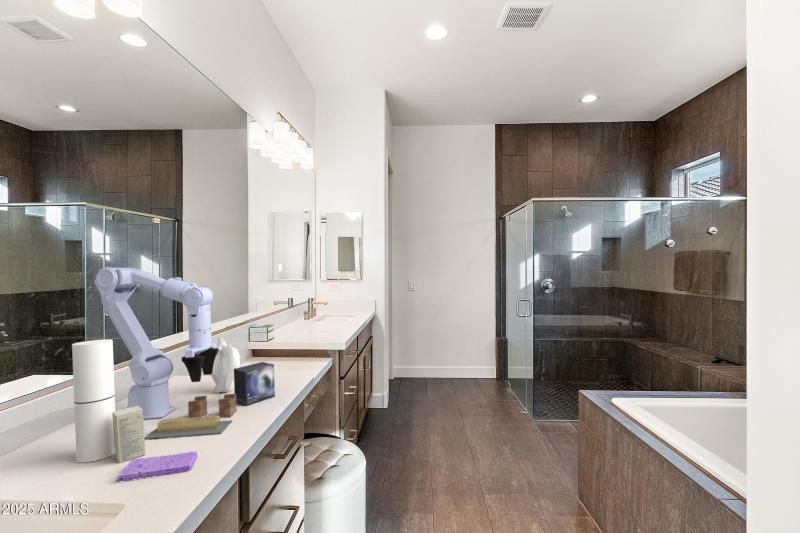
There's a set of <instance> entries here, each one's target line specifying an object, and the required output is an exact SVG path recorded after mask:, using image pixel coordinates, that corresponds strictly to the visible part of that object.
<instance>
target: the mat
mask: <svg viewBox="0 0 800 533" xmlns="http://www.w3.org/2000/svg"><path fill="white" fill-rule="evenodd" d="M232 422H233V420H220V425H219V426H218V427H217V428H216V429H206V430H193V431H180V432H167V433H158V427H157V428H156V429H154V430H153V431H151V432H150V433H149V434H147V435H146V436H144V438H145V441H146V439H150V440H156V439H155V438H162V439H168V438H167V437H175V438H183V437H182V436H188V437H201V436H211V435H212V436H213V435H221V434H222V433H224V431H225V430H226V429H227V428H228V427H229V426H230V425H231V424H232ZM229 424H230V425H229ZM228 425H229V426H228ZM227 426H228V427H227Z"/></svg>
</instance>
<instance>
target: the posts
mask: <svg viewBox="0 0 800 533" xmlns="http://www.w3.org/2000/svg"><path fill="white" fill-rule="evenodd" d="M187 405H188V406H187V407H188V408H187V409H188V418H191V417H203V416H204V415H205V416H207V414H208V395H200V396H197V395H196V396H194V400H188V401H187ZM237 410H238V409H237V403H236V394H235V393H227V394H223V398H219V399H218V415H220V419H222V418H221V417H229V418H232V417H233V416H234V415H235V414H236V413H237ZM234 413H235V414H234ZM233 414H234V415H233ZM232 415H233V416H232ZM231 416H232V417H231Z"/></svg>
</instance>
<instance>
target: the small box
mask: <svg viewBox="0 0 800 533" xmlns="http://www.w3.org/2000/svg"><path fill="white" fill-rule="evenodd" d="M233 389H234V391H233V392H234V393H233V394H236V404H237V403H238V404H237V405H240V404H241V406H244V407H247V406H251V405H254V404H257V403H260V402H263V401H265V400H269V399H272V398H275V397H276V387H275V364H274V363H270V362H269V363H268V362H265V361H264V362H263V361H261V362H256V363H252V364H249V365H245V366H239V368H235V369H234V381H233Z"/></svg>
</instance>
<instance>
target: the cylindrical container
mask: <svg viewBox="0 0 800 533" xmlns="http://www.w3.org/2000/svg"><path fill="white" fill-rule="evenodd" d="M113 341H114V340H113V339H109V338H108V339H105V338H103V339H93V340H86V341H80V342H75V343H72V344H71V350H72V376H73V379H72V380H73V382H72V383H73V401H74V402H73V405H74V427H75V429H74V430H75V453H76V454H75V455H76V462H77V463H79V462H90V461H95V462H97V461H96V460H99V461H101V460H100V459H102V460H105V459H107V458H106V457H108V458H110V457H111V455H112V456H113V455H115V444H114V430H113V416H112V412H115V411H116V395H115V393H116V390H115V388H116V387H115V369H114V366H115V364H114V345H113V344H114V343H113ZM109 456H110V457H109ZM104 458H105V459H104ZM90 463H91V462H90Z"/></svg>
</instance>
